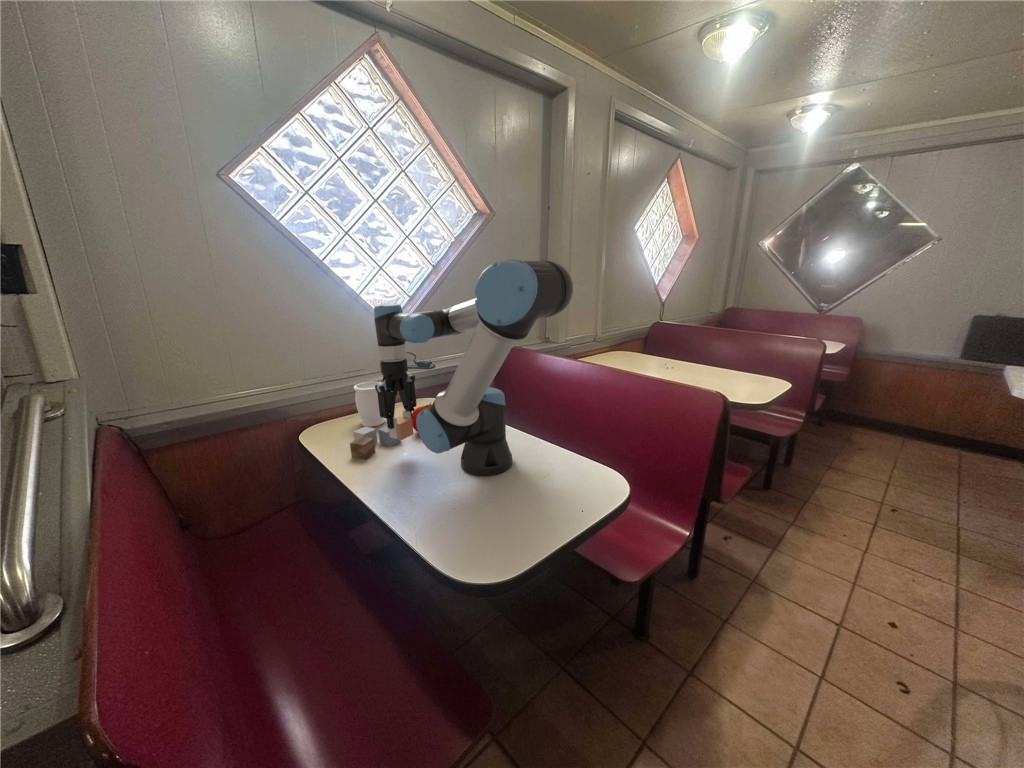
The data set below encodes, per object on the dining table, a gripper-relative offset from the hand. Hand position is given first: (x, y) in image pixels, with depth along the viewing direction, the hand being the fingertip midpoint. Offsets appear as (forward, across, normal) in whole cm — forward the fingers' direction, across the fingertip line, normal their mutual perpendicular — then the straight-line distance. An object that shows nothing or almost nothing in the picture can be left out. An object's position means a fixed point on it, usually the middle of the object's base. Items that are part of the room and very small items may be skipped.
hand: (401, 434), depth 120 cm
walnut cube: (+8, +5, -12) cm, 15 cm away
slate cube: (+8, -6, -12) cm, 16 cm away
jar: (+7, -15, -32) cm, 36 cm away
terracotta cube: (0, 0, 0) cm, 0 cm away
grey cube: (+8, -1, -18) cm, 20 cm away
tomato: (+8, -19, -6) cm, 22 cm away
